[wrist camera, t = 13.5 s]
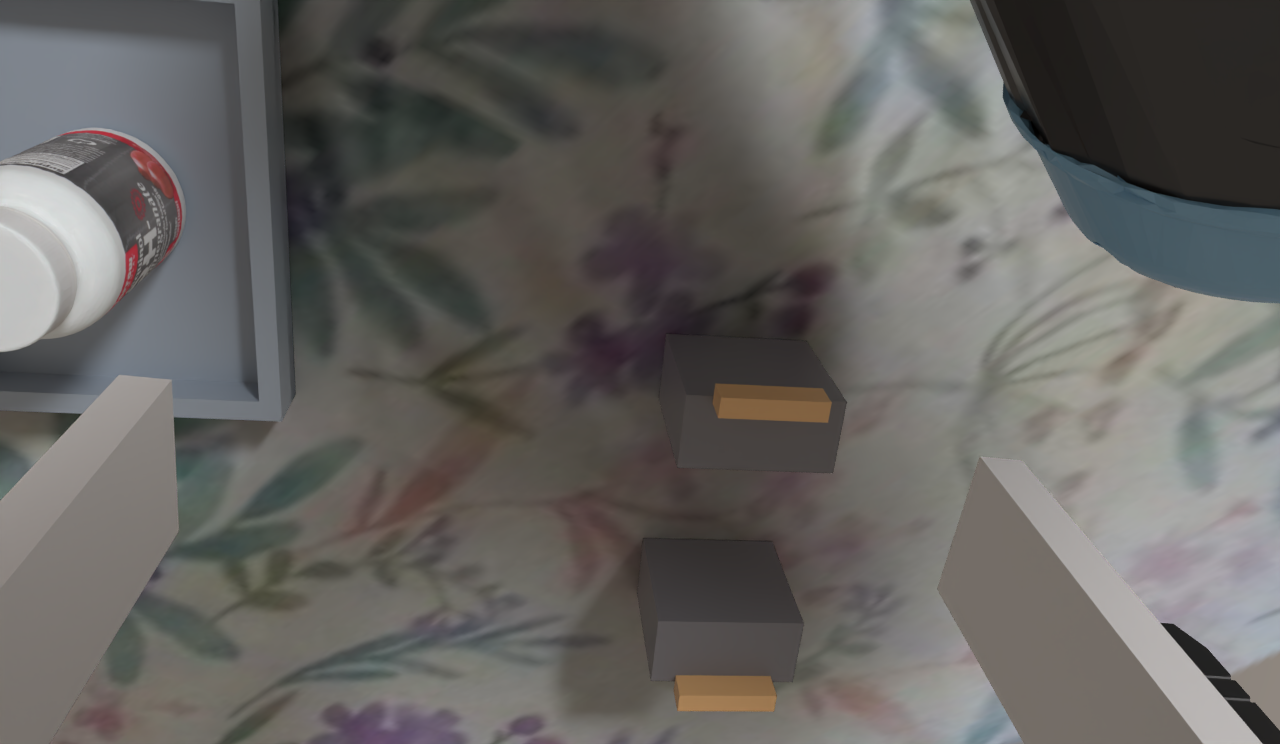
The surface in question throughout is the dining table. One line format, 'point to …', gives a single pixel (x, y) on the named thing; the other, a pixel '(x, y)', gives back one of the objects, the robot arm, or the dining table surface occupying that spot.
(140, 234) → the pill bottle
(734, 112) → the dining table surface
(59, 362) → the tray
